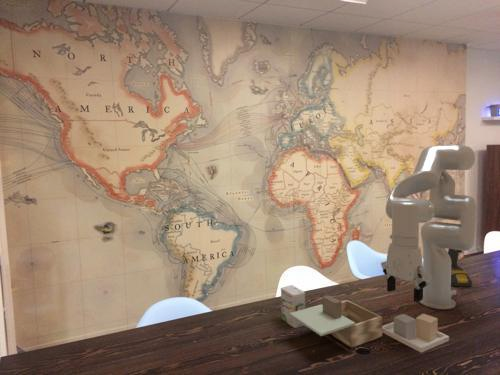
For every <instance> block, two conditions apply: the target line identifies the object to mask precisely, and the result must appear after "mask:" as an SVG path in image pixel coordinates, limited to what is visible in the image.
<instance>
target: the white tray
mask: <svg viewBox="0 0 500 375" xmlns="http://www.w3.org/2000/svg"><path fill="white" fill-rule="evenodd" d="M382 334H385V335H387V337H390V338H392V339H393V340H396V341H398V342H400V343H402V344H403V345H406V346H408V347H409V348H411V349H413V350H415V351H416V352H418V353H421V354H422V353H424V352H426V351H428V350H430V349H433V348H436V347H438V346H440V345H442V344H445V343H447V342H449V341H450V336H449V335H447V334H445V333H443V332H441V331H437V338H435V339H434V340H432V341H431V342H430V341H427V340H424V339H422V338H419V337H417V336H416V338H414V339H411V340H407V339H405V338H403V337H401V336H399V335H397V334H395V333H394V321H392V322H390V323H386V324H384V325H382Z"/></svg>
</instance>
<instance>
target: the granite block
mask: <svg viewBox="0 0 500 375" xmlns="http://www.w3.org/2000/svg"><path fill="white" fill-rule="evenodd" d="M393 322H394V333H395V334H397V335H399V336H401V337H403V338H405V339H407V340H411V339H414V338H416V318H413V317H412V316H409V315H407V314H405V313H402V314H399V315H395V316H394V317H393Z"/></svg>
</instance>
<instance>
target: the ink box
mask: <svg viewBox="0 0 500 375" xmlns="http://www.w3.org/2000/svg"><path fill="white" fill-rule="evenodd" d="M280 300H281V301H280V302H281V304H280V306H281V307H280V308H281V309H280V310H281V312H280V313H281V314H280V315H281V316H280V318H281V319H282V320H283V322H285V323H286V324H288V325H289V326H291V327H293V328H294V329H297V328H301V327H303V326H305V325H304V324H302V323H301V322H299V321H297V320H296V319H294V318H293V317H291V316H290V313H292V312H295V311H299V310H303V309H306V292H305V291H303V290H302V289H299V287H297V286H294V285H293V284H291V285H287V286H284V287H280Z"/></svg>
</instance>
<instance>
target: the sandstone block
mask: <svg viewBox="0 0 500 375" xmlns="http://www.w3.org/2000/svg"><path fill="white" fill-rule="evenodd" d="M415 319H416V336H417V337H419V338H422V339H424V340H427V341H430V342H431V341H432V340H434V339H435V338H437V331H438V326H439V325H438V323H439V322H438V321H439V319H438V317H436V316H435V317H434V316H432V315H429V314H427V313H421V314H420V315H418V316H417V317H415ZM438 332H439V331H438Z"/></svg>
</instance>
